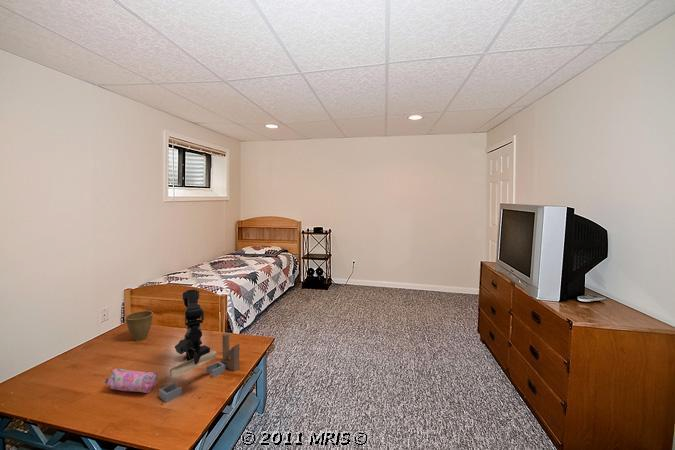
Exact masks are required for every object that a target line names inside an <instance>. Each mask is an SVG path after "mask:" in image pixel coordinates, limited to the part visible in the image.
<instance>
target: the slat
mask: <svg viewBox="0 0 675 450" xmlns="http://www.w3.org/2000/svg"><path fill="white" fill-rule="evenodd" d="M216 358H217V351H215V350H214V349H213V350H210V352H209V353H207V354H205V355H203V356H201V357H200V359H199V361H198V364H196V365H195V363H194V359H192V360H189V361H188V360H186V361H185V362H183V363H180V364H178V365H176V366H174V367H172V368H169V371H168V372H169V376H170V377H171V378H176V377H177V376H179V375H182V374H183V373H186V372H188V371H190V370H192V369H194V368H197V367H199V366H200V365H203V364H205V363H207V362H210V361H211V360H214V359H216Z"/></svg>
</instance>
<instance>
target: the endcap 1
mask: <svg viewBox="0 0 675 450" xmlns="http://www.w3.org/2000/svg"><path fill="white" fill-rule="evenodd" d="M176 386H177V383H176V382H175V381H174V382H172V383H169V384H168V385H165V386H164V387H161V388H160V389H158V398H160V399H161V400H162V401H163V402H164V403H168V402H170V401H172V400H174V399H175V398H177V397H179V396H181V395H182V394H183V393H182V391H183V387H182V386H180V385H179V386H177V387H176Z"/></svg>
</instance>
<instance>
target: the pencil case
mask: <svg viewBox="0 0 675 450" xmlns="http://www.w3.org/2000/svg"><path fill="white" fill-rule="evenodd" d="M111 372H112V373H111V375H110V376H109V377H108V378H105V381H104V384H106V386H107V388H108V389H111V390H117V391H122V392H136V393H137V392H138V393H144V394H145V393H146V394H148V393H150V392H151V391H152V390H153V389H154V388H155V386H156V385H157V381H158V377H159V375H158V373H157V372H151V371H148V372H145V371H139V370H137V371H136V370H127V369H124V368H114V369H113V370H111Z"/></svg>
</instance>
